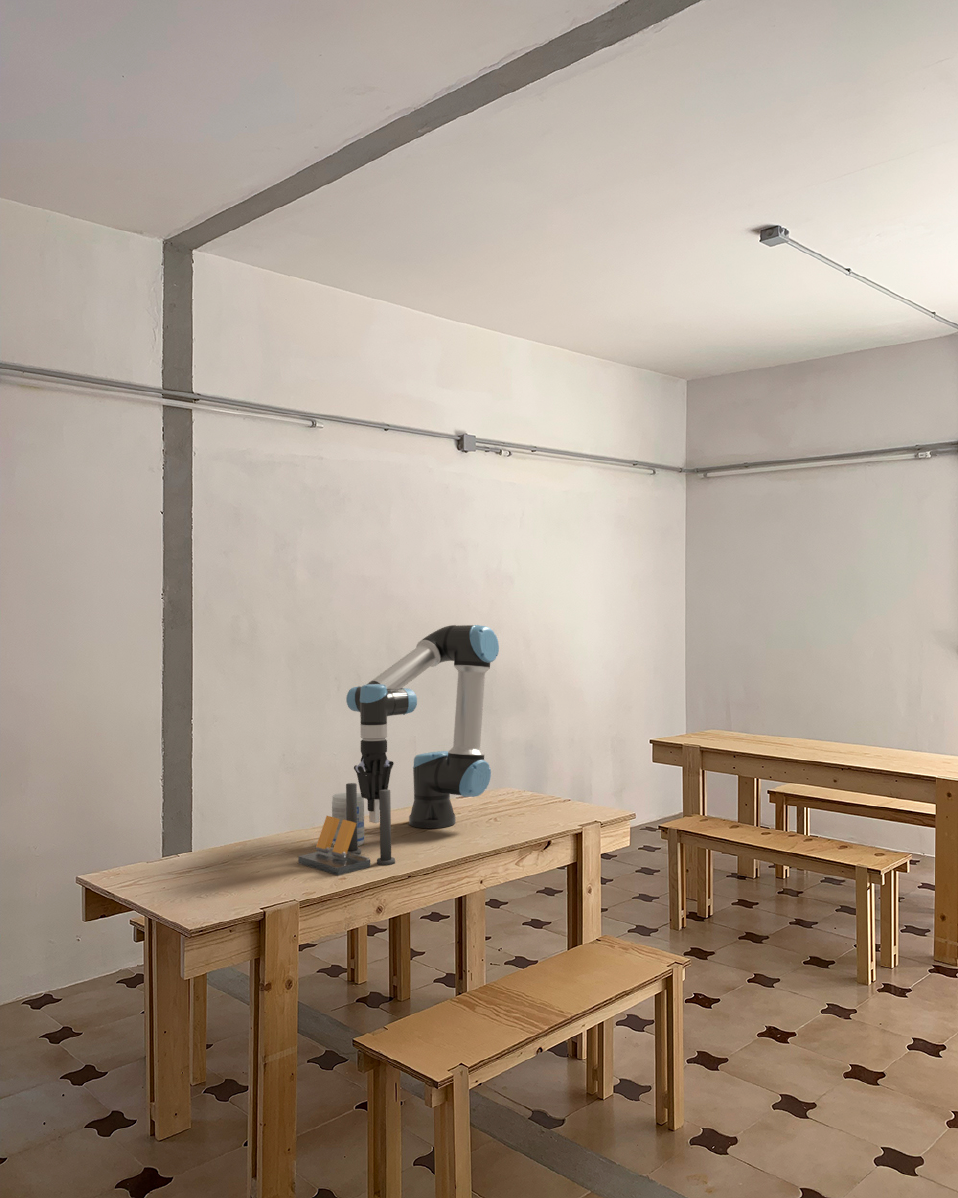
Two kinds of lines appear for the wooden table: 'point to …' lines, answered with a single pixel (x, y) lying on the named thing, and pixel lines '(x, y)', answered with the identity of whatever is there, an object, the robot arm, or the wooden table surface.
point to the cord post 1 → (352, 814)
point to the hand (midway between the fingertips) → (374, 822)
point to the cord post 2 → (385, 829)
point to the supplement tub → (340, 813)
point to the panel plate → (334, 862)
